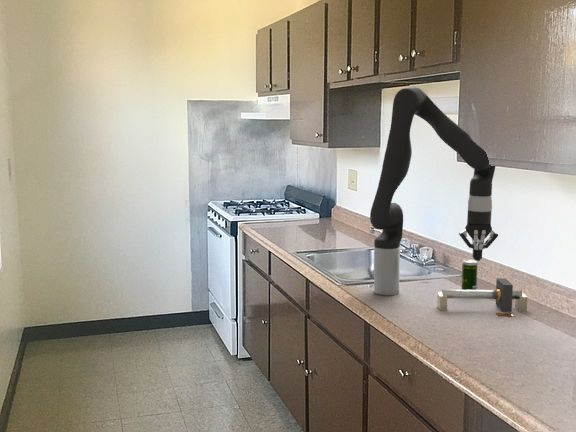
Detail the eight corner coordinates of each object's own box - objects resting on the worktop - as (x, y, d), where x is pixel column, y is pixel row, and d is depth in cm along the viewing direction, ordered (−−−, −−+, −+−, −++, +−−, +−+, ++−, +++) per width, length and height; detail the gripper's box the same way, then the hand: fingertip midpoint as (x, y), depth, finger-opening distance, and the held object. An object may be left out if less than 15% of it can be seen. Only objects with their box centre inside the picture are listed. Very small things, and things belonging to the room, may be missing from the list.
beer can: (479, 292, 237) (480, 261, 236) (472, 295, 234) (473, 263, 232) (465, 290, 241) (466, 258, 239) (458, 293, 237) (459, 261, 235)
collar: (502, 311, 213) (503, 285, 211) (495, 303, 221) (496, 278, 220) (511, 311, 212) (512, 285, 211) (504, 304, 221) (505, 278, 220)
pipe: (442, 316, 210) (443, 295, 209) (437, 306, 221) (437, 287, 220) (532, 317, 208) (532, 296, 207) (522, 307, 219) (523, 287, 218)
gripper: (497, 207, 216) (494, 258, 219) (457, 207, 217) (454, 257, 220) (503, 211, 209) (500, 263, 211) (461, 210, 209) (459, 262, 212)
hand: (476, 260), depth 215 cm, fingers closed
